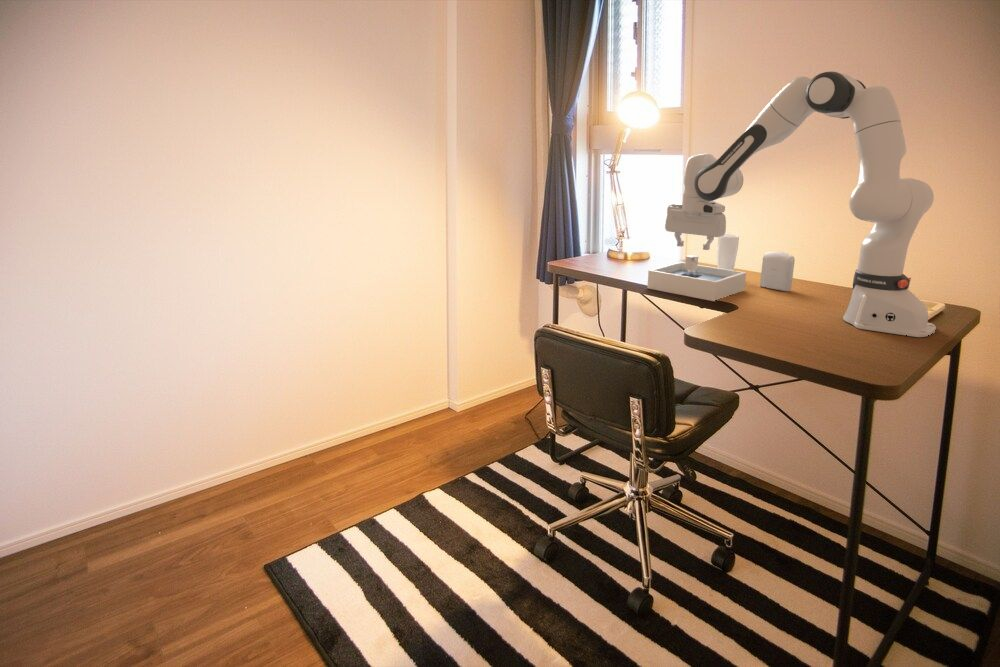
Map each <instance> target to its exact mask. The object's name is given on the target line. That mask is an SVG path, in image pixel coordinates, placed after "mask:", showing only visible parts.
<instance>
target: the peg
mask: <svg viewBox="0 0 1000 667" xmlns="http://www.w3.org/2000/svg"><path fill="white" fill-rule="evenodd" d="M684 263H685V273H684V276H688V277H694V278H697V267H698V265H699V255H691V254H690V255H685V262H684Z"/></svg>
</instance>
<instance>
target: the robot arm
mask: <svg viewBox="0 0 1000 667" xmlns="http://www.w3.org/2000/svg"><path fill="white" fill-rule="evenodd" d="M816 112H817V113H820V114H823V115H825V116H827V117H830V118H837V119H849V118H850V120H851V124H852V126H853V133H854V138H855V143H856V144H855V145H856V150H857V155H858V163H859V166H858V167H859V170H858V178H857V183H856V186H855V189H854V190H852V192H851V194H850V197H849V202H848V203H849V204H848V206H849V208H850V213H851V214H852V215H853V216H854V217H855V218H856V219H858V220H860V221H865V222H869V223H874V224H873V226H872V229H871V230H870V232H869V233H868V234H867V235H866V236H865V237H864V238H863V240H862V243H861V244H860V251H859V257H858V263H857V268H856V270H855V271H854V275H853V281H852V294H851V297H850V300H849V303H848V305H847V309H846V311H845V313H844V315H843V317H842V319H843V321H845V322H847V323H848V324H851V325H853V326H854V327H855V328H857V329H860V330H867V331H873V332H879V333H880V332H881V333H887V334H894V335H900V336H906V335H907V337H915V338H924V337H929V336H932V335H933V334H935V332H936V331H937V326H936V325H935V324H934V323H931V322H929V311H928V307H927V305H926V303H924V302H923V301H922V300H920V299H919V298H918V297H917V296H916V295H915V294H914V293H913V292H912V291H911V290H909V287H910V284H911V283H910V282H911V280H912V277H908V276H906V275H905V274H904V269H905V264H906V259H907V254H908V248H909V245H910V243H911V240H912V238H913V236H914V233H915V231H916V229H917V226H918V224H919V223H920V221H921V219H922V218H923V217H924V215H925V214H926V213H927V212H928V211H929V210H930V209H931V207H932V205H933V202H934V192H933V188H931V186H930V185H929V184H928V183H927V182H925V181H922V180H919V179H915V178H913V177H911V178H909V177H907V178H906V177H903V178H901V176H900V171H901V163H902V160H903V158H904V157H905V155H906V153H907V146H906V145H907V144H906V141H905V134H904V130H903V124H902V120H901V115H900V112H899V109H898V105H897V103H896V100H895V98H894V95H893V93H892V92H891V90H890V89H889V88H888V87H887V86H883V85H874V86H869V87H866V86H865V84H864V83H863V82H862V81H860V80H858V79H855V78H853V76H850V75H847V74H845V73H840V72H838V71H837V72H836V71H824V72H822V73H819V74H817V75H815V76H814V77H813V78H810V77H807V76H797V77H795V78H794V79H792V80H790V82H788V83H787V84H786V85H785V86H784V87H782V88H781V90H779V92H778V93H777V94H776V95H775V96H774V97H773V98H772V99H771V100H770V101H769V103H767V105H766V106H765V107H764V108H763V109H762V111H760V113H759V114H758V115H757V116H756V118H755V119H754V120H753V121H752V123H751V124H750V125H749V126H748V127H747V128H746V129H745V130H744V132H743V133H741V135H740V136H739V137H738V138H737V139H735V141H734V142H733V143H732V144H731V145H730V146H729V147H728V148H727V149H726V150H725V151H724V153H722V155H721V156H719V158H718V159H717V158H716V157H715V156H714V155H713V154H711V153H700V154H694V155H691V156H690V157H688V159H687V161H686V164H685V171H684V179H683V185H684V190H683V194H682V203H671V204H670V205H668V206H667V208H666V210H667V211H666V214H667V215H666V219H665V226H664V229H665V231H666V232H670V233H674V238H675V239H676V242H677V243H676V247H684V246H685V245H684V243H685V241H684V240H682V237H681V236H682V234H684V235H685V234H687V235H695V236H705V237H706V240H707V242H706V243H703V244H702V250H704V251H710V246H711V244H712V243H713V241H714V239H715V238H719V237H722V236H723V235H724V234H726V232H727V231H726V229H727V219H726V218H727V217H726V214H724V213H725V211H726V206H725V205H724V204H721V203H719V202H717V201H716V200H718V199H722V198H726V197H727V198H728V197H730V196H731V197H732V196H733V195H736V194H738V193H739V192H740V191H741V189H742V188H743V184H744V176H743V172H742V171H741V170H740V168H742V166H743V165H744V164H745V163H746V162H747V161H748V160H749V159H750V158H751V157H752V156H753V155H755V154H757V153H758V152H760V151H762V150H764V149H766V148H769V147H771V146H774V145H777V144H780V143H782V142H783V141H785V140H787V139H788V138H789V137H790V136H791V135H793V133H795V132H796V130H798V129H799V127H800V126H801V125H802V124H803V123H804V121H806V120H807V118H809V117H810V115H812V114H814V113H816ZM935 330H936V331H935ZM932 333H933V334H932ZM931 334H932V335H931ZM928 335H929V336H928Z"/></svg>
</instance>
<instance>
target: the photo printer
mask: <svg viewBox="0 0 1000 667" xmlns="http://www.w3.org/2000/svg"><path fill="white" fill-rule="evenodd" d="M795 261H796V260H795V256H793V255H792V254H789V253H788V252H785V251H779V250H774V251H773V250H772V251H766V252H765V253H764V254H763V256H762V264H761V274H760V283H759V287H761V288H765V287H766V288H767V289H770V290H771V289H772V290H777V291H782V292H790V291H791V290H792V285H793V277H794V268H795Z"/></svg>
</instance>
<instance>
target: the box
mask: <svg viewBox="0 0 1000 667" xmlns="http://www.w3.org/2000/svg"><path fill="white" fill-rule="evenodd" d="M647 273H648V274H647V287H646V288H647V289H650V290H655V291H658V292H659V291H660V292H665V293H670V294H675V295H679V296H680V295H681V296H686V297H691V298H695V299H700V300H706V301H711V302H716V301H715V300H717V299H719V298H722V297H725V296H728V297H730V296H729V295H731V296H733V295H736V294H738V292H739V293H741V292H743V290H744V291H745V286H746V285H745V284H746V279H747V278H746V276H747V272H745V271H739V270H735V269H734V270H728V269H721V268H717V267H714V266H708V265H703V264H702V265H701V264H698V267H697V278H694V277H688V276H684V273H685V262H684V261H683V262H682V261H678V262H674V263H671V264H668V265H667V264H666V265H664V266H659V267H656V268H653V269H649V270H648V271H647ZM735 293H736V294H735ZM732 294H733V295H732ZM725 298H726V297H725ZM722 299H723V298H722ZM717 301H718V300H717Z"/></svg>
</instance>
